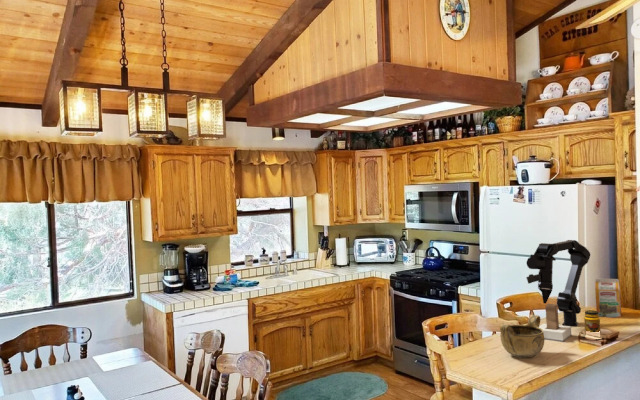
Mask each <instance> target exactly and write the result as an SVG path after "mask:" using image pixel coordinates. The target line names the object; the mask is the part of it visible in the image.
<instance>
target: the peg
mask: <svg viewBox="0 0 640 400" xmlns="http://www.w3.org/2000/svg"><path fill="white" fill-rule="evenodd" d="M544 306H545V319H546V321H545V322H546V323H545V324H547V329H552V330H558V329H559V325H560V323H559V312H558V311H559V309H558V305H557V303H546V305H544Z"/></svg>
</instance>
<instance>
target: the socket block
mask: <svg viewBox="0 0 640 400" xmlns="http://www.w3.org/2000/svg"><path fill="white" fill-rule="evenodd" d="M539 328H541V329H542V330H543V333H544V340H545V341H546V340H547V341H554V342H561V343H562V342H563V343H564V342H566V340H568V339H569V338H570V337H572V326H567V325H562V324H561V325H560V324H559V329H558V330H552V329H547V323H542V324H540V325H539Z"/></svg>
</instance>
